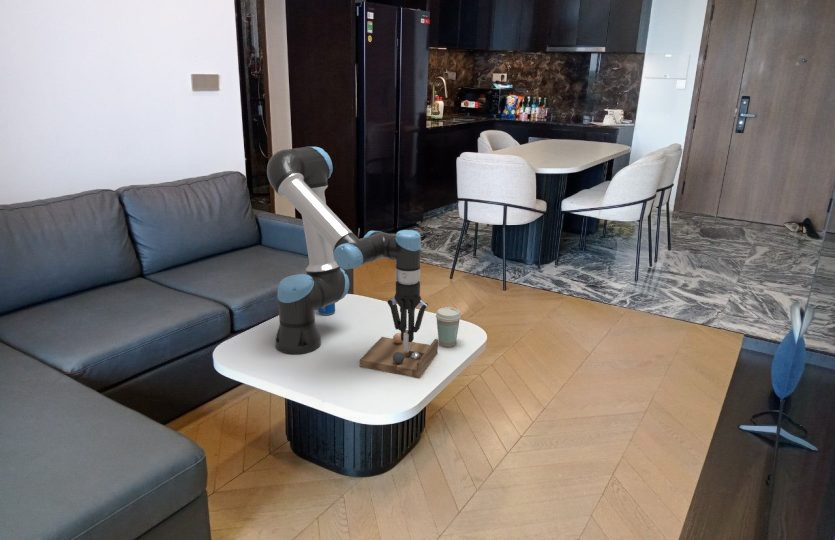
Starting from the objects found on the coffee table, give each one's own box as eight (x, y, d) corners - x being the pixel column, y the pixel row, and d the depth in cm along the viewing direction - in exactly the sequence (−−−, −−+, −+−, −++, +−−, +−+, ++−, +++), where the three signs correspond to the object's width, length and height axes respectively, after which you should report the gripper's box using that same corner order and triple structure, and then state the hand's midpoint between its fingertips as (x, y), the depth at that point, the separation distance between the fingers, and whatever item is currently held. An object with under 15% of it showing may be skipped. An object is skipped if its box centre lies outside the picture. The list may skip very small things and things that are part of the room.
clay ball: (391, 344, 194) (391, 334, 193) (395, 340, 197) (395, 330, 196) (401, 346, 193) (401, 336, 191) (405, 341, 196) (405, 332, 195)
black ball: (391, 364, 180) (391, 354, 179) (395, 359, 184) (395, 349, 182) (401, 366, 179) (401, 355, 178) (405, 361, 183) (405, 351, 181)
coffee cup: (457, 350, 196) (459, 317, 192) (432, 347, 197) (433, 315, 194) (461, 339, 204) (462, 307, 200) (437, 337, 205) (438, 305, 201)
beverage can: (315, 315, 222) (314, 285, 218) (321, 308, 228) (320, 280, 224) (332, 316, 221) (331, 287, 217) (337, 310, 227) (336, 281, 223)
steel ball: (406, 358, 186) (414, 353, 184) (410, 353, 189) (417, 348, 187) (413, 367, 186) (421, 361, 184) (417, 362, 189) (424, 356, 187)
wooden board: (359, 366, 184) (359, 352, 182) (381, 343, 200) (381, 330, 198) (419, 378, 178) (420, 363, 176) (437, 353, 194) (437, 339, 192)
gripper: (383, 281, 178) (383, 351, 185) (424, 287, 174) (422, 358, 181) (392, 274, 184) (392, 342, 192) (431, 279, 180) (430, 348, 188)
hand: (407, 350), depth 187 cm, fingers closed
